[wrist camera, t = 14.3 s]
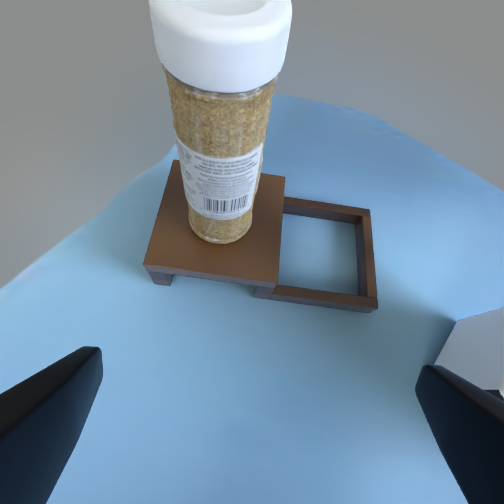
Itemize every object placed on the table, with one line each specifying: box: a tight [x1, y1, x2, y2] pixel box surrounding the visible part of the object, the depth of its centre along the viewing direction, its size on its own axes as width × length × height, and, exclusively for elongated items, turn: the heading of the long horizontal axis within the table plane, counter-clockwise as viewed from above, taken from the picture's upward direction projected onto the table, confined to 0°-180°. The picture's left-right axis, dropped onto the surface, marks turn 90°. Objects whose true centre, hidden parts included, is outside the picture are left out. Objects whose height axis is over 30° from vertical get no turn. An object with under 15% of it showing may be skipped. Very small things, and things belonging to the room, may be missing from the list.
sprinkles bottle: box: [149, 0, 292, 244], centre depth 15 cm, size 5×5×14 cm
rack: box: [143, 160, 378, 313], centre depth 23 cm, size 9×17×4 cm, turn 84°
